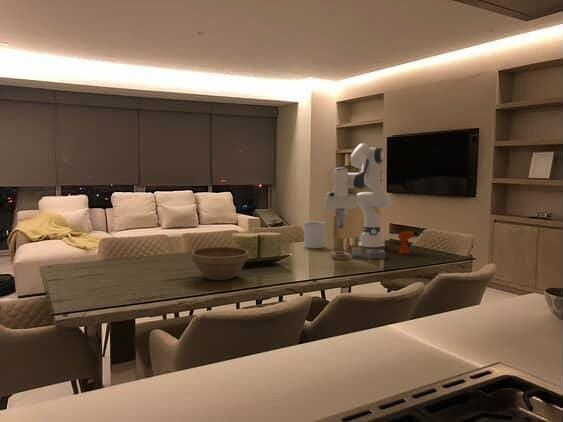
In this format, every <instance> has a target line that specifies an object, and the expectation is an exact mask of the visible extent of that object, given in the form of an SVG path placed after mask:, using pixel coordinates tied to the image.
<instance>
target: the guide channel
mask: <svg viewBox="0 0 563 422" xmlns="http://www.w3.org/2000/svg"><path fill="white" fill-rule="evenodd" d="M347 253H348V254H349V258H351V259H352V260H353V259H355V260H356V259H358V260H359V259H361V260H362V259H363V260H364V259H365V256H364V254H362V253H361V257H355V256H352V253H350V252H347Z"/></svg>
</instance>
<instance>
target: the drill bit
mask: <svg viewBox="0 0 563 422" xmlns="http://www.w3.org/2000/svg"><path fill="white" fill-rule="evenodd" d="M336 213H337V216H336V228H338V229H344V217H345V216H344V213H345V209H343V208H339V209H336Z"/></svg>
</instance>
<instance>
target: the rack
mask: <svg viewBox="0 0 563 422" xmlns="http://www.w3.org/2000/svg"><path fill="white" fill-rule="evenodd" d="M348 253H349V252H348V251H330V258H331V260H350V256H349V254H348Z"/></svg>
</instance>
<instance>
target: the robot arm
mask: <svg viewBox="0 0 563 422" xmlns="http://www.w3.org/2000/svg"><path fill="white" fill-rule="evenodd" d="M384 159H385V152H384V149H383V148H382V147H374V146H373V147H371V146H369V144H367V143H365V142H362V143H359V144H358V145H357V146H356V147H354V149H353V151H352V152H351V154H350V156H349V160H350V164H351V165H352V166H353V167H354V168H357V169H360V171H357V172H349V171H348V167H345V166H338V167H336V168H334V172H333V185H334V186H333V190H332V191H331V190H330V191H328V192H326V194H325V196H326V197H324V202H323V208H324V209H325V210H327V209H328V210H329V209H330V210H331V209H332V211H333V213H334V217H337V209H339V208H343V209H344V217H346V216H347V213H348V211H349V210H353V209H354V210H356V209H357V208H358V207H359V209H360V210H361V211H362V214H363V227H362V231H363V232H362V234H361V235H360V236H359V237H358V238H359V239H358V240H359V241H358V247H364V248H380V247H385V244H384V243H383V234H382V233H381V217H380V215H379V213H377V212H375V211H374V209H373V208H379V209H380V208H381V209H382V208H387V207H389V206H390V203H391V202H392V200H391V198H392V197H391V195H390V194H389V193H388V192H387V191H385V189H384V188H383V184H382V180H381V163H382V162H383V160H384ZM366 186H367V187H368V188H370V189H371V191H362V192H357V193H349V189H359V190H362V189H364V188H365V187H366Z"/></svg>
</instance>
